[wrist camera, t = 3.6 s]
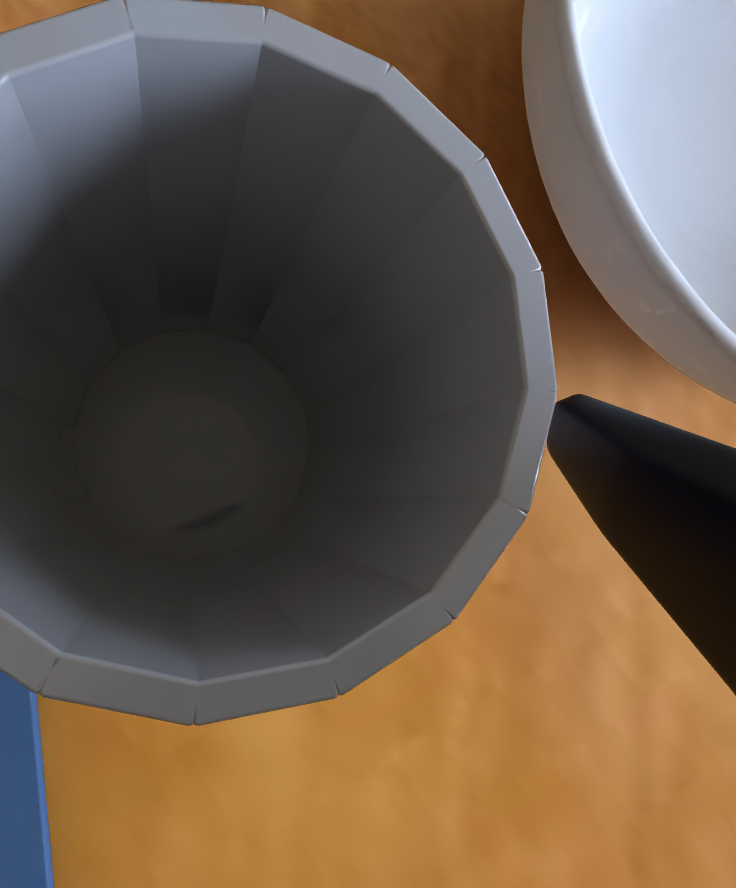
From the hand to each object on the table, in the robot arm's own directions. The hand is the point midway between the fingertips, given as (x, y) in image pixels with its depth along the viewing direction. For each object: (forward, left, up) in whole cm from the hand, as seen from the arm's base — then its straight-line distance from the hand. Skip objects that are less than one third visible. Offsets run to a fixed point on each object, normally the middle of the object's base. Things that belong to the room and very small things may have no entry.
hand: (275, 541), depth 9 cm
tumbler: (+1, -2, -10) cm, 11 cm away
